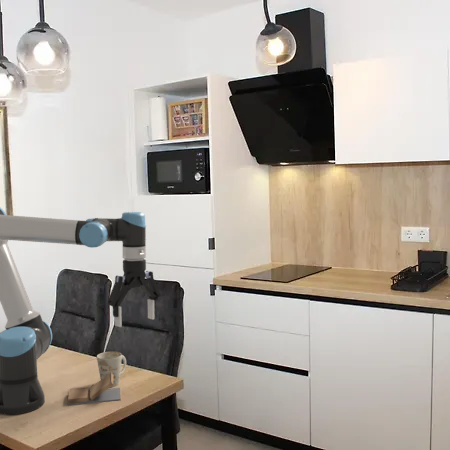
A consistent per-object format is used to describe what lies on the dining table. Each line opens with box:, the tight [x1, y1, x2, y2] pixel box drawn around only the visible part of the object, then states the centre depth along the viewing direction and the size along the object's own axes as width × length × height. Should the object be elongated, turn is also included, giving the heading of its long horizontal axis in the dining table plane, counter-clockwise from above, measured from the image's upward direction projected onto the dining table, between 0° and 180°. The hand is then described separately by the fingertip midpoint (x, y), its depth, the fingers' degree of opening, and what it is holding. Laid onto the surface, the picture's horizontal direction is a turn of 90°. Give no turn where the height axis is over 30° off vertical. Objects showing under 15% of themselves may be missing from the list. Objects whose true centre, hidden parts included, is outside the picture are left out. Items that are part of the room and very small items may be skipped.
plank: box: [89, 373, 114, 400], centre depth 186 cm, size 8×9×1 cm
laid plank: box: [67, 387, 91, 404], centre depth 185 cm, size 6×9×1 cm
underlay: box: [67, 387, 121, 406], centre depth 186 cm, size 16×10×1 cm, turn 101°
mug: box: [96, 351, 127, 388], centre depth 199 cm, size 8×13×10 cm, turn 152°
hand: (135, 322), depth 193 cm, fingers open, 13 cm apart
